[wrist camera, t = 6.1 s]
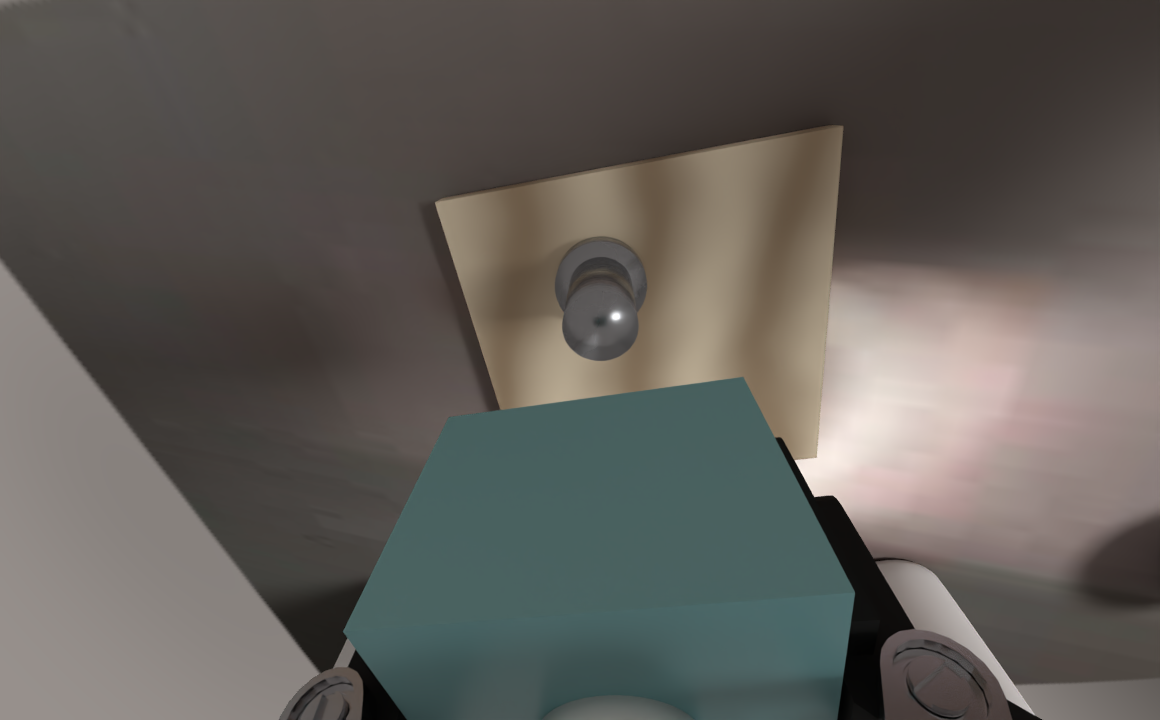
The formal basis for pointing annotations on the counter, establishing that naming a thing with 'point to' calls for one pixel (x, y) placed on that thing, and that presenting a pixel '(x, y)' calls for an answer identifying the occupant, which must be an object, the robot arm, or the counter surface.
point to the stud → (600, 297)
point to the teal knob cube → (609, 569)
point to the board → (666, 274)
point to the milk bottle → (941, 615)
